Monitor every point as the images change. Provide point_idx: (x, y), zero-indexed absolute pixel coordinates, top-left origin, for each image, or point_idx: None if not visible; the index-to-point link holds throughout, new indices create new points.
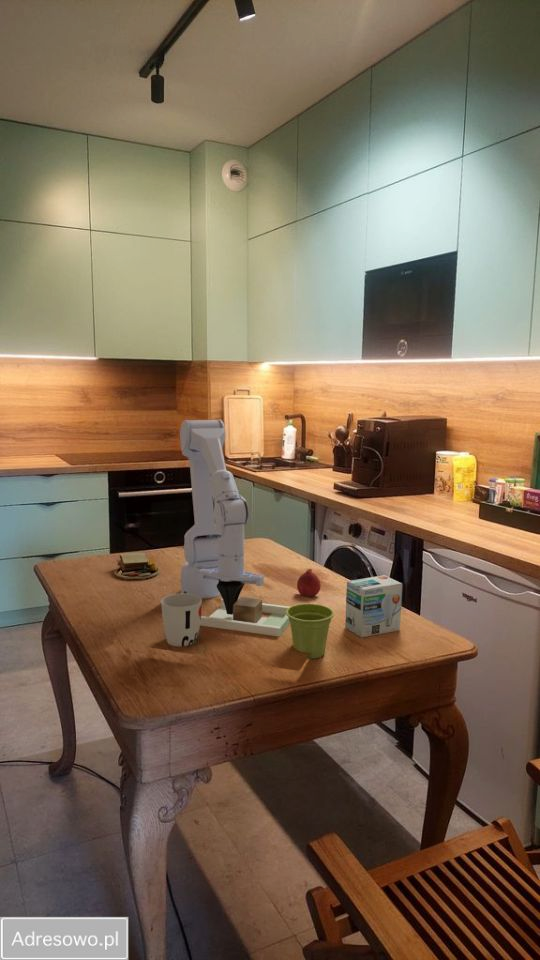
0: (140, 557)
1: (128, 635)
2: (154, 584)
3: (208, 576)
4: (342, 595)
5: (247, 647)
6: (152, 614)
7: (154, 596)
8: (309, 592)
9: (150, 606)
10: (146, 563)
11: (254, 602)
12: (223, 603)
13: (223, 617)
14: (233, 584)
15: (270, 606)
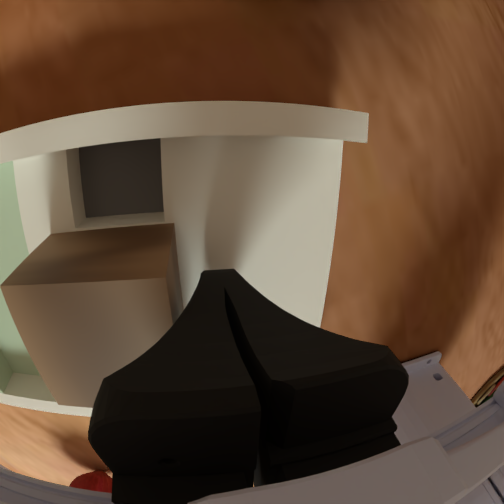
0: None
1: (499, 57)
2: (472, 383)
3: (482, 426)
4: (64, 483)
5: (33, 42)
6: (492, 232)
7: (481, 338)
8: (77, 483)
9: (494, 282)
10: None
11: (57, 362)
12: None
13: (255, 262)
14: (190, 465)
15: None
